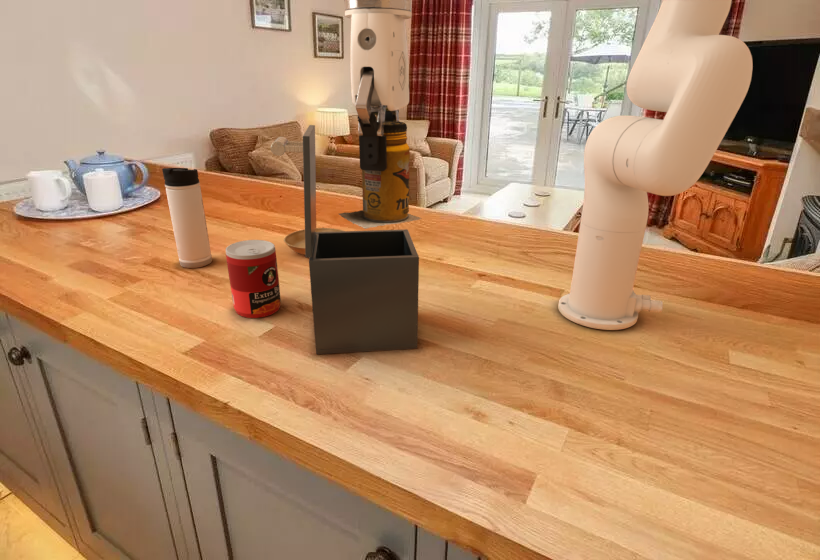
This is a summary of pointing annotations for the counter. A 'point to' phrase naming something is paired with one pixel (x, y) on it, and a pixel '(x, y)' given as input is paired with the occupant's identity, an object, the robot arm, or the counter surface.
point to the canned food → (253, 278)
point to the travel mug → (187, 216)
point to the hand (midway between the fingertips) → (380, 163)
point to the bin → (364, 291)
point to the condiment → (387, 184)
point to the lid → (309, 170)
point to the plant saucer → (302, 239)
